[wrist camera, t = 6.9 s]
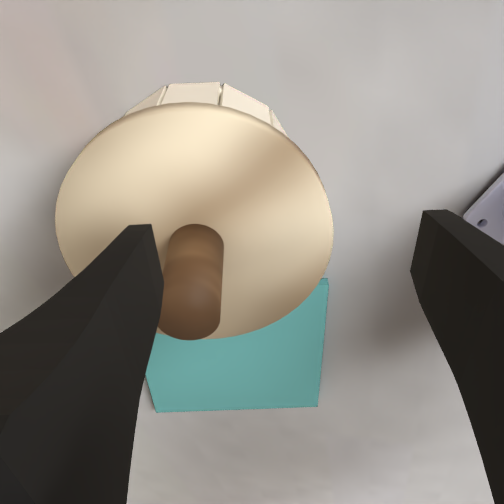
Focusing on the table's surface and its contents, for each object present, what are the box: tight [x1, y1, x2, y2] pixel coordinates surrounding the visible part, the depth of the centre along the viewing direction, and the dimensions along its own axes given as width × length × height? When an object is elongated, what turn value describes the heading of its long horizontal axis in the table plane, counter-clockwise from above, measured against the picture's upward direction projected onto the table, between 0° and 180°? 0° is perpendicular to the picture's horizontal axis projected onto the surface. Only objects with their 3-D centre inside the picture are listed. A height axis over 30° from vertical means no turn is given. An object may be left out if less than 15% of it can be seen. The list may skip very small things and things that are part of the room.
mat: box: [145, 278, 329, 413], centre depth 30 cm, size 12×12×1 cm
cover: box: [55, 102, 334, 340], centre depth 17 cm, size 11×11×5 cm
